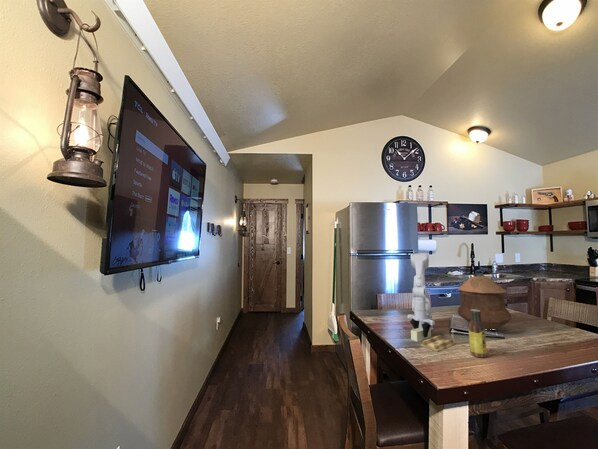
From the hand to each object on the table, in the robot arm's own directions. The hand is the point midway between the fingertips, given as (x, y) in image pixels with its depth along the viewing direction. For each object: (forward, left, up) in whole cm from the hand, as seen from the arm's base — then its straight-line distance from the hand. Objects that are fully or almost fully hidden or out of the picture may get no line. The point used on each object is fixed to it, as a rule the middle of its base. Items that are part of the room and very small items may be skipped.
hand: (421, 335), depth 137 cm
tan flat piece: (+2, +10, -1) cm, 10 cm away
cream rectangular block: (0, 0, -2) cm, 2 cm away
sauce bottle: (-3, +26, -2) cm, 26 cm away
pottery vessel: (-43, +11, -2) cm, 44 cm away
